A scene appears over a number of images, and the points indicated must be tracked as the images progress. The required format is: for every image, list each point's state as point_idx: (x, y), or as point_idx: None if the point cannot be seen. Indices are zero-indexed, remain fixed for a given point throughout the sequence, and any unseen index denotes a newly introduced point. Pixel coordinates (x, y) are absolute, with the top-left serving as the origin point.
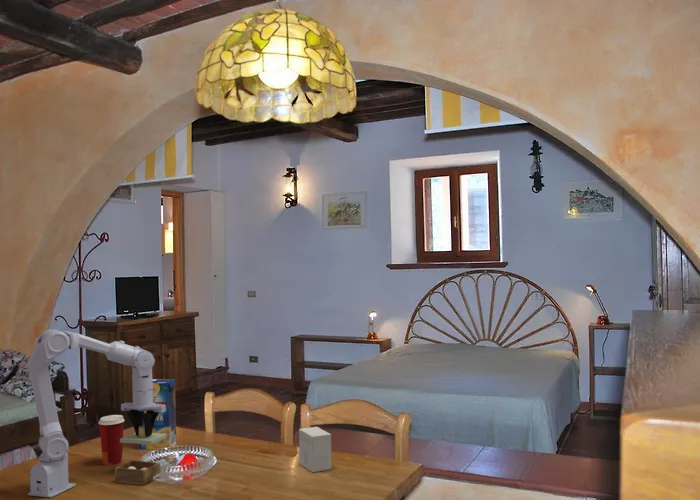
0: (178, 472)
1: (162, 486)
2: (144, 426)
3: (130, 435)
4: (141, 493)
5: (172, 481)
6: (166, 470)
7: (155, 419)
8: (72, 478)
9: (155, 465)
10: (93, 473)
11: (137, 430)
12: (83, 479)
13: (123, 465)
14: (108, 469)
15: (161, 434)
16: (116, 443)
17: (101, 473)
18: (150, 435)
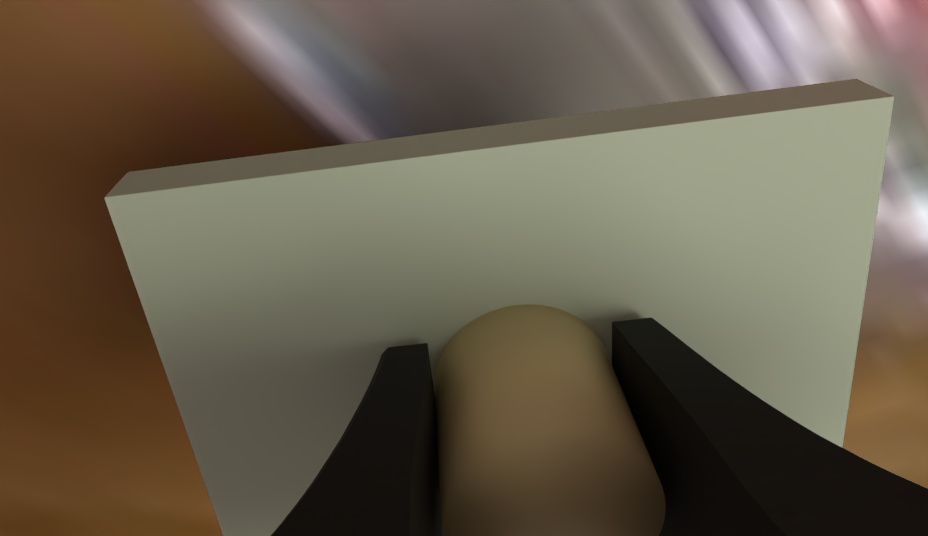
0: (870, 79)
1: (884, 396)
2: (588, 524)
3: (221, 412)
4: None
5: (919, 291)
6: (705, 72)
7: (903, 496)
8: (3, 520)
9: None
10: (43, 387)
11: (440, 524)
12: (117, 504)
13: None
14: (65, 262)
15: (800, 175)
16: None
17: (116, 363)
18: (609, 296)
